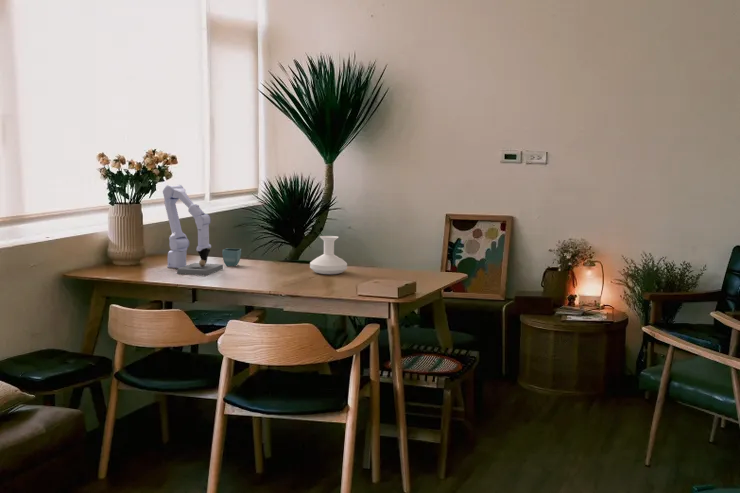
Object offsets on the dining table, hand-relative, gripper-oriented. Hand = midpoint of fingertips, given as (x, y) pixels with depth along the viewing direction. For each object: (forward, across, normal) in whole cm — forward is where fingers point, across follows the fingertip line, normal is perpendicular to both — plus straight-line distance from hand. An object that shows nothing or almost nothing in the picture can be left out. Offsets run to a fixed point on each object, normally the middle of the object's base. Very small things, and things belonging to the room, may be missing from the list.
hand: (204, 263), depth 428 cm
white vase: (+6, +16, -63) cm, 66 cm away
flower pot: (+4, +21, -8) cm, 22 cm away
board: (+4, -3, +1) cm, 5 cm away
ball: (0, -1, 0) cm, 1 cm away
